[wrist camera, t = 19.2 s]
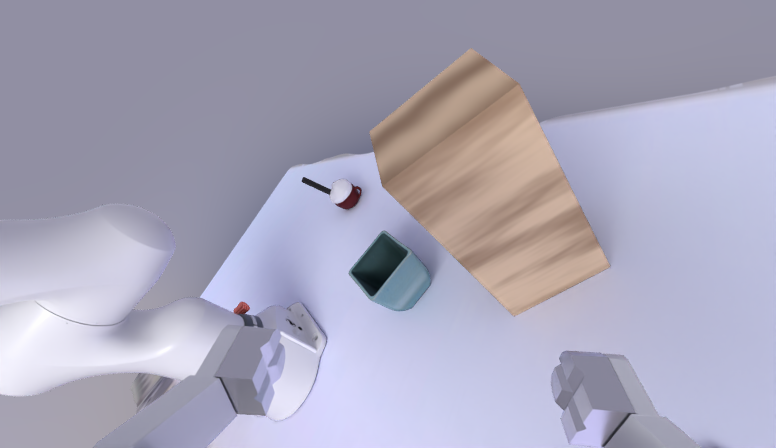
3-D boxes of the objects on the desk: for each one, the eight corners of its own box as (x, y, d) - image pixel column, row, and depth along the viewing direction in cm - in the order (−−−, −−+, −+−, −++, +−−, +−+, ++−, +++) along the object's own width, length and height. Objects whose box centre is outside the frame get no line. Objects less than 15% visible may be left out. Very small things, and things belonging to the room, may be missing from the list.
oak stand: (484, 258, 49) (369, 131, 34) (562, 212, 46) (471, 48, 31) (514, 316, 42) (382, 186, 27) (610, 266, 38) (519, 83, 23)
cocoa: (370, 191, 82) (337, 156, 75) (358, 212, 79) (323, 178, 72) (344, 194, 88) (312, 162, 81) (333, 214, 86) (299, 182, 79)
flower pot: (382, 297, 58) (346, 272, 53) (415, 257, 59) (382, 228, 54) (409, 326, 51) (371, 301, 46) (446, 280, 51) (412, 250, 46)
